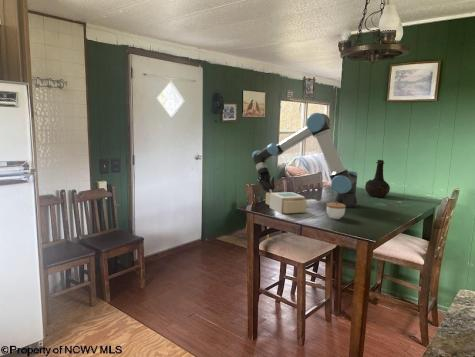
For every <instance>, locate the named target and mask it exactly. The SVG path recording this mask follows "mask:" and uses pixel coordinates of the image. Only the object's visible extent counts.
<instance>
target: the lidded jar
mask: <svg viewBox="0 0 475 357" xmlns="http://www.w3.org/2000/svg"><path fill="white" fill-rule="evenodd" d="M346 208H347V207H346V205H344V204H341V203H337V202H335V203H334V202H328V203H326V213H327V215H328V217H329V218H330V219H334V220H340V219H342V217H343V216H344V215H345V213H346Z"/></svg>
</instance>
